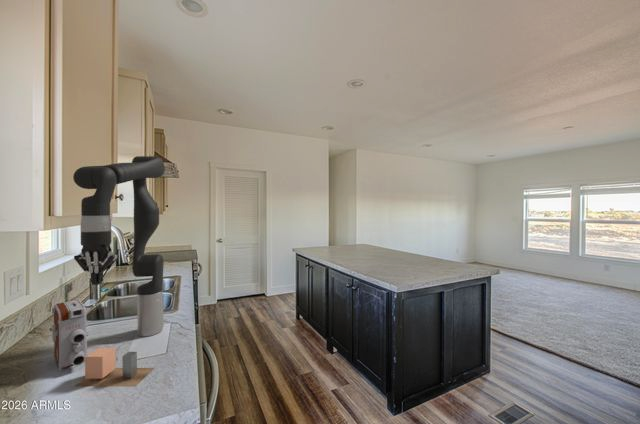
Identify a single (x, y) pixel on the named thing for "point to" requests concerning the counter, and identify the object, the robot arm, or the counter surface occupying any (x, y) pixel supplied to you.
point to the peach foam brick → (100, 363)
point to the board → (117, 378)
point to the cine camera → (69, 333)
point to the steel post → (129, 365)
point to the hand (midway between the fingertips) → (96, 284)
